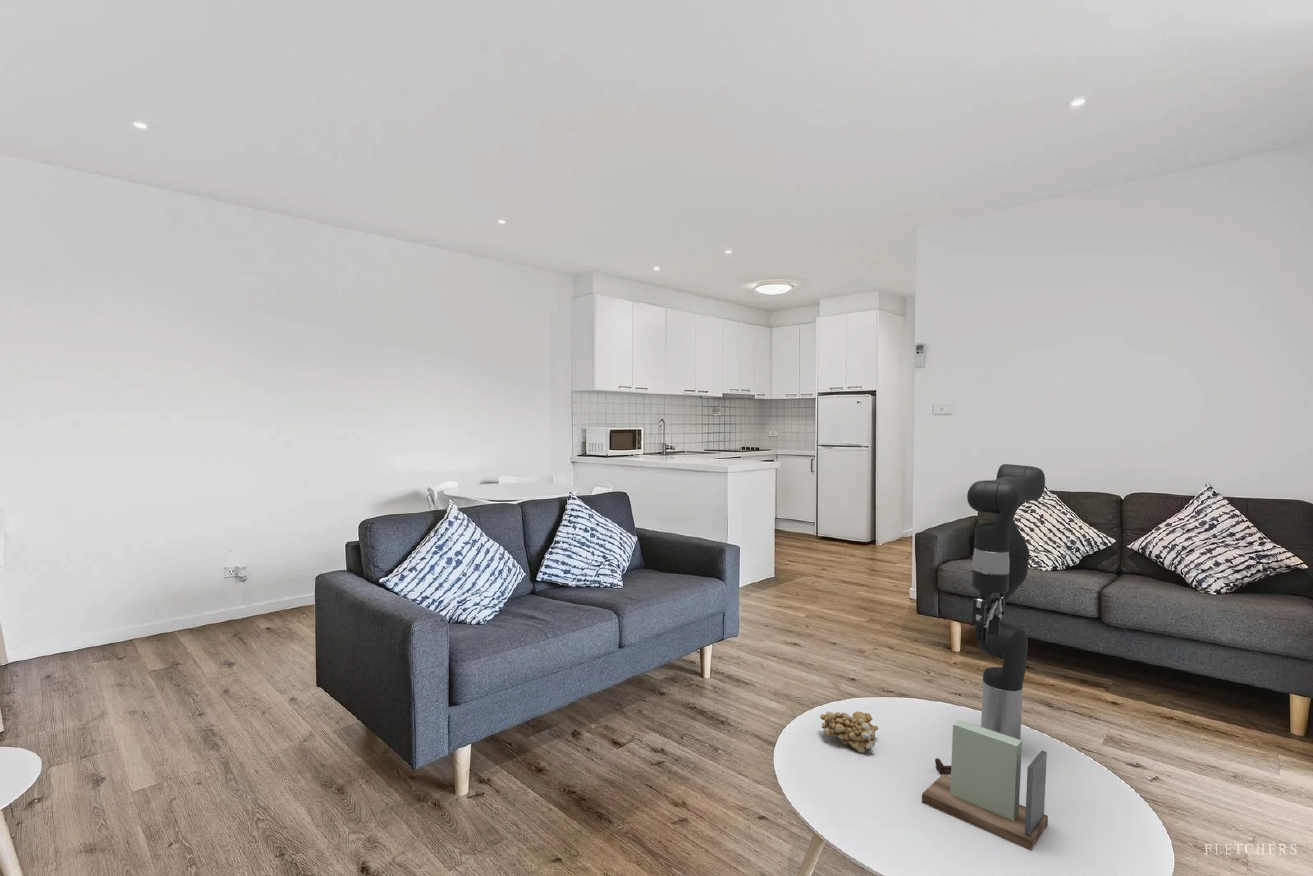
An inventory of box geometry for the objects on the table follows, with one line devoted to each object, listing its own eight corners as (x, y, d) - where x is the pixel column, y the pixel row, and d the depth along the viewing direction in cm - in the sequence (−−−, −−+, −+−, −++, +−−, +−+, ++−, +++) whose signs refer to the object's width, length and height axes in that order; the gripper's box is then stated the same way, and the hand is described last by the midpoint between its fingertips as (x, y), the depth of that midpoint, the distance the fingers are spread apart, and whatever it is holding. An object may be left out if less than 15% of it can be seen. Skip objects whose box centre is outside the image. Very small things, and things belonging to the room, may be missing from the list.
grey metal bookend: (1038, 814, 138) (1041, 750, 137) (1044, 816, 137) (1046, 752, 137) (1024, 835, 131) (1027, 767, 130) (1030, 837, 130) (1033, 769, 130)
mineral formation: (873, 759, 163) (813, 742, 169) (877, 744, 175) (821, 728, 181) (877, 726, 163) (817, 710, 169) (880, 714, 176) (825, 699, 182)
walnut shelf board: (942, 782, 153) (943, 773, 153) (1047, 825, 137) (1047, 815, 137) (921, 802, 144) (922, 793, 144) (1031, 850, 129) (1031, 840, 129)
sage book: (955, 788, 147) (958, 719, 146) (1018, 814, 138) (1021, 740, 137) (950, 794, 144) (952, 724, 144) (1013, 821, 135) (1016, 746, 135)
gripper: (983, 562, 155) (981, 628, 155) (962, 570, 145) (959, 641, 145) (1018, 567, 150) (1015, 636, 150) (997, 577, 140) (994, 650, 140)
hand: (987, 639), depth 148 cm, fingers open, 8 cm apart
